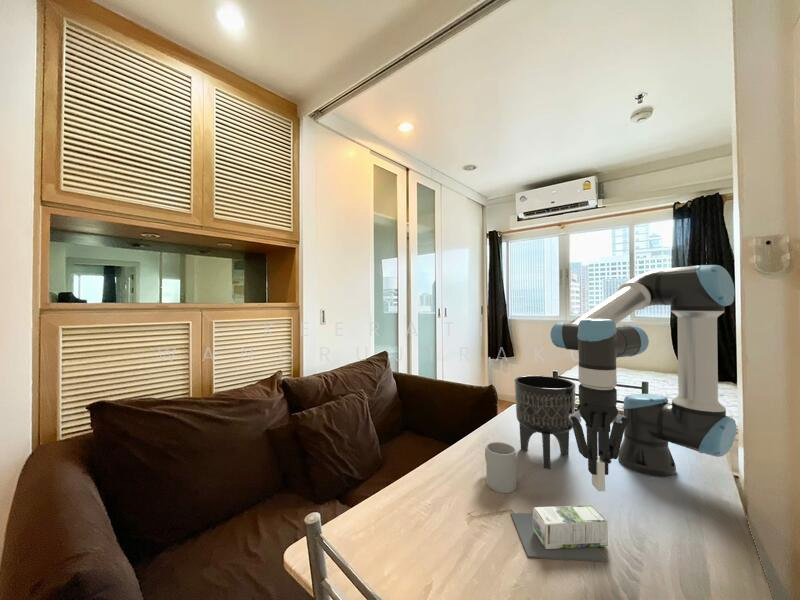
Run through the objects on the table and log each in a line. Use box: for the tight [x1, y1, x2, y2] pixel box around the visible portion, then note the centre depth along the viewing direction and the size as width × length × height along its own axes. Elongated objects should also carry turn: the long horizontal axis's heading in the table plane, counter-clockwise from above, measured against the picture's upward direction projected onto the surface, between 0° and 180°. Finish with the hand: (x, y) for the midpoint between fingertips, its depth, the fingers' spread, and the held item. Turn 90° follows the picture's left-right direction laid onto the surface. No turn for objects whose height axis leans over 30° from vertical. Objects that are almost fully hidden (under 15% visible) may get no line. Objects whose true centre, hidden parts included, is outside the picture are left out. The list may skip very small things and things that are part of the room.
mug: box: [484, 441, 517, 494], centre depth 97 cm, size 12×8×11 cm
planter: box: [514, 375, 576, 470], centre depth 113 cm, size 20×20×26 cm
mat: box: [510, 512, 607, 563], centre depth 75 cm, size 16×14×1 cm
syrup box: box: [532, 504, 609, 549], centre depth 73 cm, size 6×6×14 cm
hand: (598, 487), depth 74 cm, fingers closed
